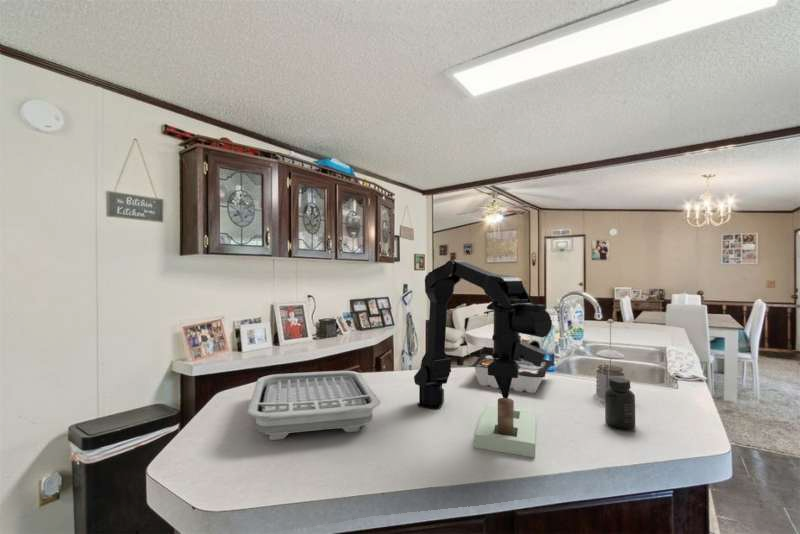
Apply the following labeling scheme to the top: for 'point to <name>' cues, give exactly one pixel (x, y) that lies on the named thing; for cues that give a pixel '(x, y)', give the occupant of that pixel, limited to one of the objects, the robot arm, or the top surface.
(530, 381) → the food packaging
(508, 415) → the peg
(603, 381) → the french press
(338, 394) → the dish rack
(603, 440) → the top surface
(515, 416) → the board
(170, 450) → the top surface
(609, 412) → the supplement bottle
